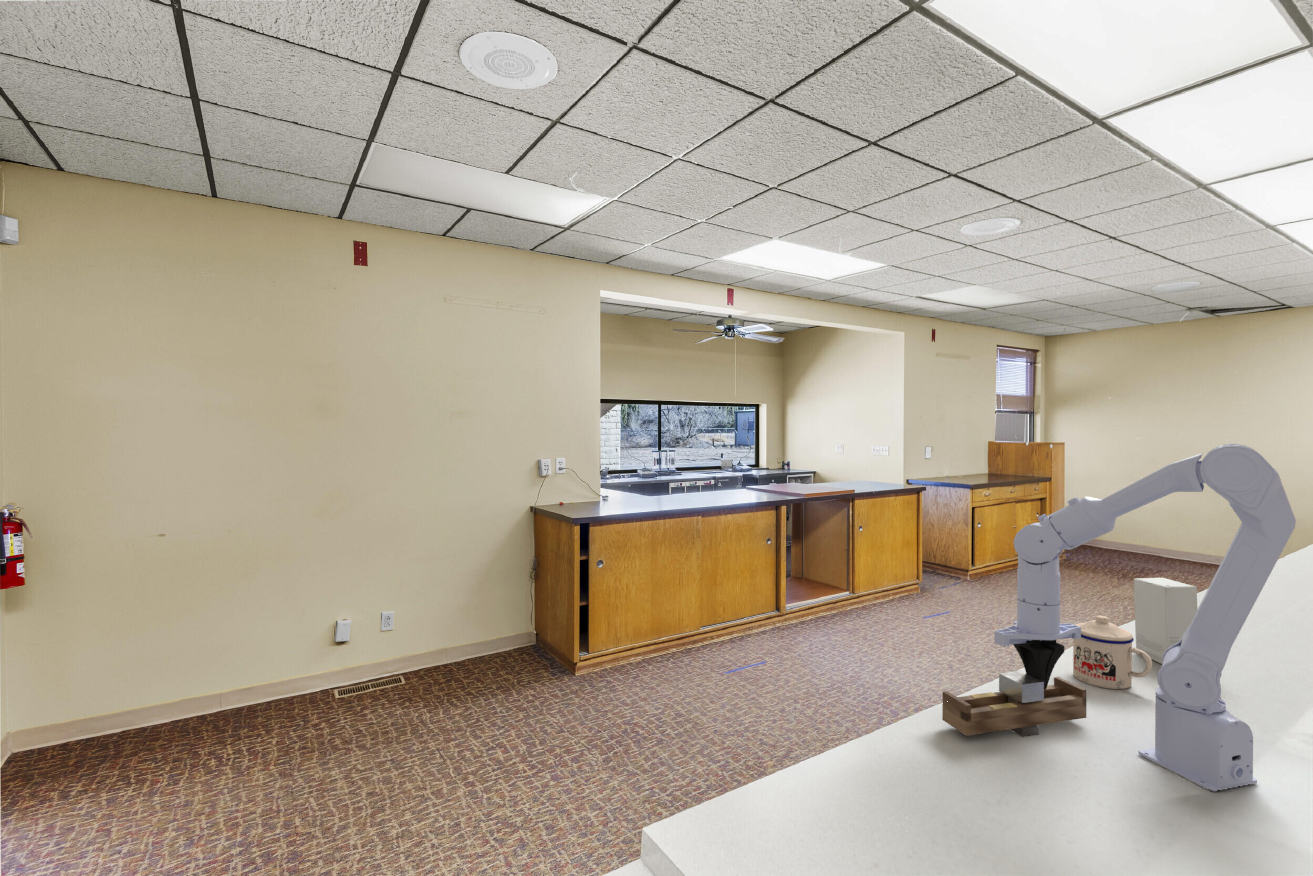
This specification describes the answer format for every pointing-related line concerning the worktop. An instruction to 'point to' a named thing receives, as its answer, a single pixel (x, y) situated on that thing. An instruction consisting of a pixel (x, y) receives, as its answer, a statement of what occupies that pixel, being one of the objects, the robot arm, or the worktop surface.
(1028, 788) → the worktop surface
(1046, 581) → the robot arm
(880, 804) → the worktop surface
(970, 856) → the worktop surface
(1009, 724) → the beam
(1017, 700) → the block
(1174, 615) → the skincare box
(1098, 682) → the teacup with lid
